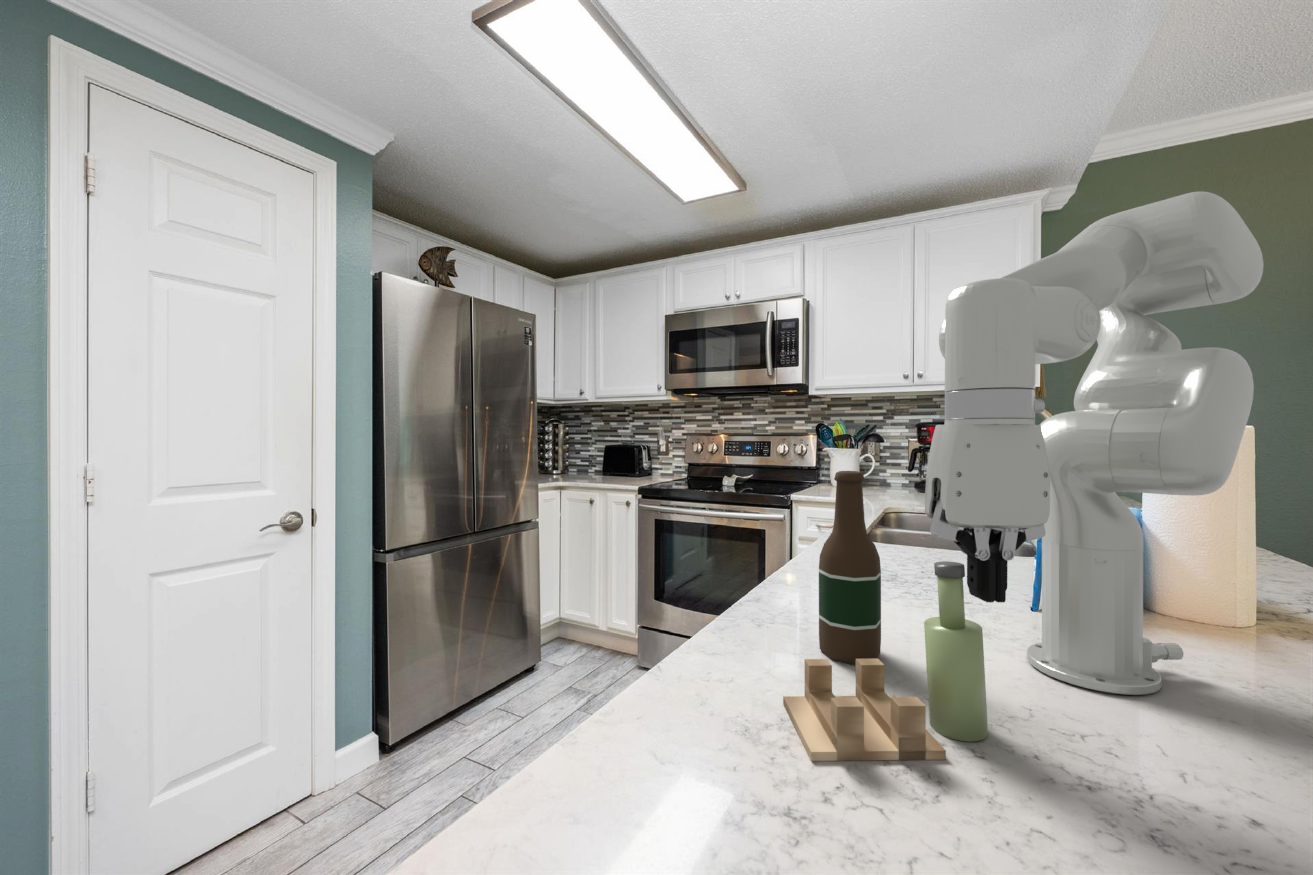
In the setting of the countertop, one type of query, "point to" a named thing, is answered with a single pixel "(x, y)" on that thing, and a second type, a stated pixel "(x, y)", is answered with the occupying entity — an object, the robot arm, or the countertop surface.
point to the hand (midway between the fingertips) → (986, 597)
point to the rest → (859, 718)
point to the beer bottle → (849, 580)
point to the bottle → (955, 662)
